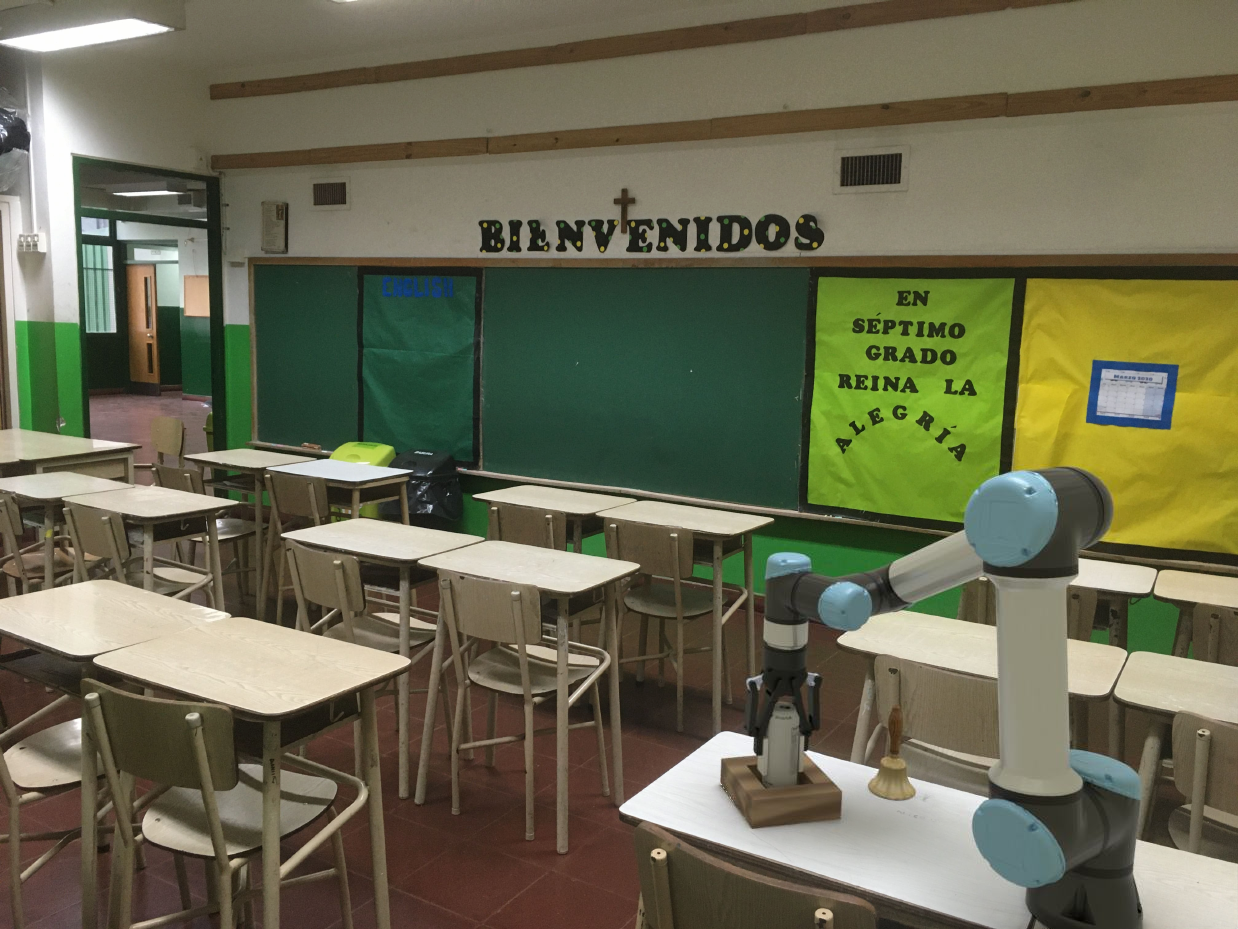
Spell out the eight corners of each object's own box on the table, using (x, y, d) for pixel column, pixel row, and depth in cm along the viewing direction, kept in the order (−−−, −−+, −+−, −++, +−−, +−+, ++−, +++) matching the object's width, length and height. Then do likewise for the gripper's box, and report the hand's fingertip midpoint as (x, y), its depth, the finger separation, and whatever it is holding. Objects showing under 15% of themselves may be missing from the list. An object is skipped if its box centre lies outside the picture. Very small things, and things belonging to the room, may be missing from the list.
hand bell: (921, 801, 172) (926, 715, 169) (874, 800, 172) (879, 714, 170) (908, 779, 180) (913, 697, 178) (863, 778, 180) (868, 696, 178)
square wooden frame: (840, 818, 165) (842, 791, 164) (752, 828, 161) (753, 800, 160) (801, 776, 180) (802, 751, 180) (720, 784, 176) (721, 758, 176)
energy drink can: (765, 778, 174) (768, 698, 172) (798, 783, 172) (802, 702, 170) (758, 792, 168) (761, 710, 166) (793, 798, 166) (797, 715, 164)
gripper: (826, 633, 172) (820, 756, 176) (725, 639, 168) (721, 765, 171) (845, 646, 165) (839, 774, 168) (740, 653, 161) (736, 785, 164)
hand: (780, 770), depth 170 cm, fingers closed on energy drink can, 6 cm apart
